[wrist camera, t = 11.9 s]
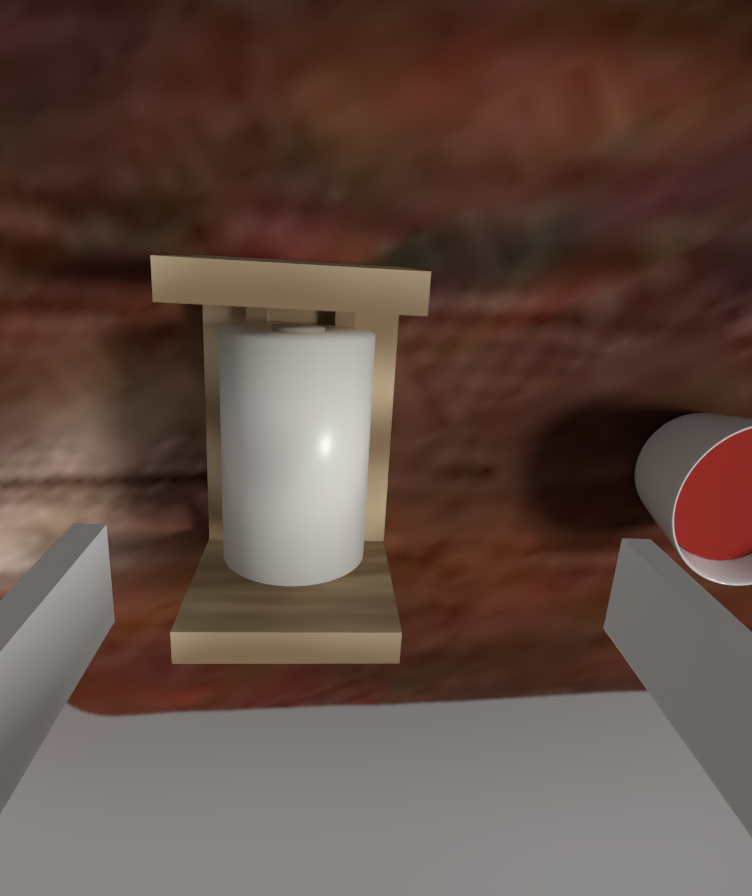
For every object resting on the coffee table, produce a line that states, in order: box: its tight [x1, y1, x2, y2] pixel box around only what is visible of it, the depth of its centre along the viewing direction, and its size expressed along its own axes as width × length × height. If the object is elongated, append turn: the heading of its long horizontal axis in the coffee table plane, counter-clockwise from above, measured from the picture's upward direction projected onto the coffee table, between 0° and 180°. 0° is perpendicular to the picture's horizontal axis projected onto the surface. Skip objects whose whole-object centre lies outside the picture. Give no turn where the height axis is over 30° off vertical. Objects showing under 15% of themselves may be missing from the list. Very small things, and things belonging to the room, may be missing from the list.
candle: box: [635, 413, 752, 585], centre depth 34 cm, size 9×9×6 cm
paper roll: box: [218, 322, 376, 586], centre depth 29 cm, size 11×7×7 cm, turn 177°
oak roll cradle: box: [150, 255, 431, 664], centre depth 29 cm, size 17×10×10 cm, turn 177°
